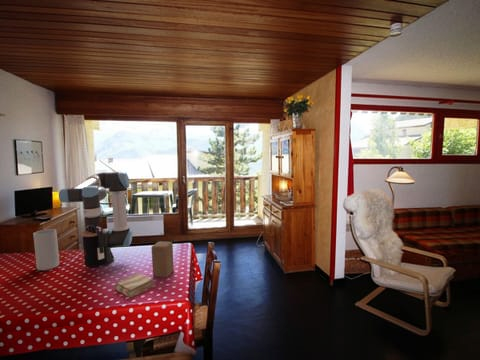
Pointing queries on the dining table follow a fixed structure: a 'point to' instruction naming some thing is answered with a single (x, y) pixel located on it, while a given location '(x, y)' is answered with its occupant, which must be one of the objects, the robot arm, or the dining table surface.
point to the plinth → (134, 285)
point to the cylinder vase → (46, 249)
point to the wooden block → (162, 259)
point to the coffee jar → (93, 250)
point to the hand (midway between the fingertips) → (95, 256)
